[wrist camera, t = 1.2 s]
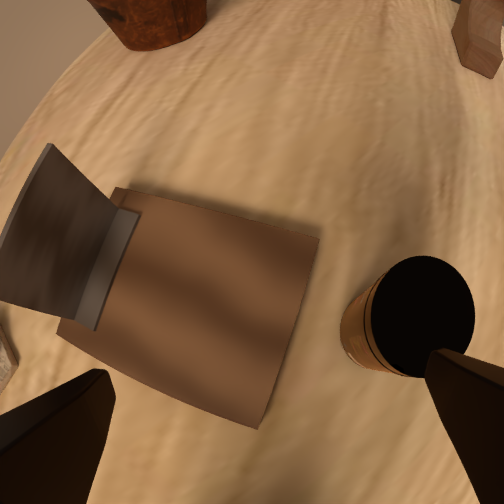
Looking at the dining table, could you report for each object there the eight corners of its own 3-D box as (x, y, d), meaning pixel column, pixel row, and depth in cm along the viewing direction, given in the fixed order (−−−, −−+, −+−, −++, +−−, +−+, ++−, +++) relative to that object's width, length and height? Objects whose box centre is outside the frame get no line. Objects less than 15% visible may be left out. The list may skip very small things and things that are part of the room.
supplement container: (423, 313, 21) (488, 289, 12) (389, 383, 20) (446, 397, 11) (360, 278, 22) (400, 233, 14) (323, 347, 21) (346, 344, 13)
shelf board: (259, 424, 20) (232, 489, 9) (66, 335, 23) (-35, 314, 12) (317, 245, 23) (339, 157, 13) (122, 194, 27) (53, 118, 16)
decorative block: (492, 81, 28) (539, -23, 9) (459, 65, 29) (499, -48, 10) (480, 45, 31) (511, -44, 12) (450, 31, 32) (476, -63, 13)
